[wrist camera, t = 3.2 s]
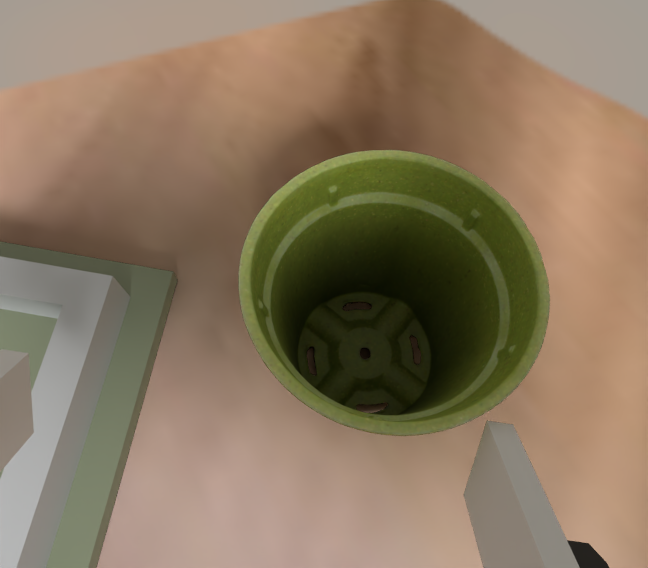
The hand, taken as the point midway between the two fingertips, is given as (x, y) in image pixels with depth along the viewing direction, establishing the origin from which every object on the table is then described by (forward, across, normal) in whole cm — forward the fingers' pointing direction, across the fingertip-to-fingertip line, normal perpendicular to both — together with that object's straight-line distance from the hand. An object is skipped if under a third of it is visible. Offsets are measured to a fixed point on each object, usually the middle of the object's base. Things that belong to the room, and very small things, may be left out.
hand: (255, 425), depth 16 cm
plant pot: (+9, +4, -2) cm, 10 cm away
